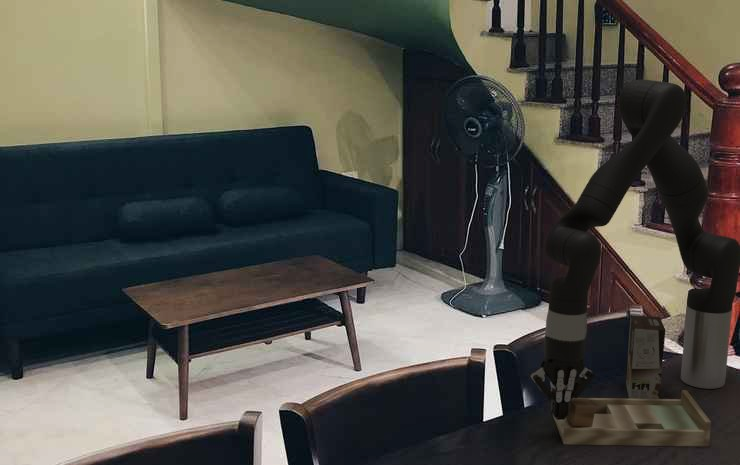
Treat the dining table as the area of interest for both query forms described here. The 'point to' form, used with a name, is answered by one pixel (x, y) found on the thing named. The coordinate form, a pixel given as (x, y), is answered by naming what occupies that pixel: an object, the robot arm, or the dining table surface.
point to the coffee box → (645, 357)
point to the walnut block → (580, 412)
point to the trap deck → (641, 423)
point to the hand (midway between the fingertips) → (559, 417)
